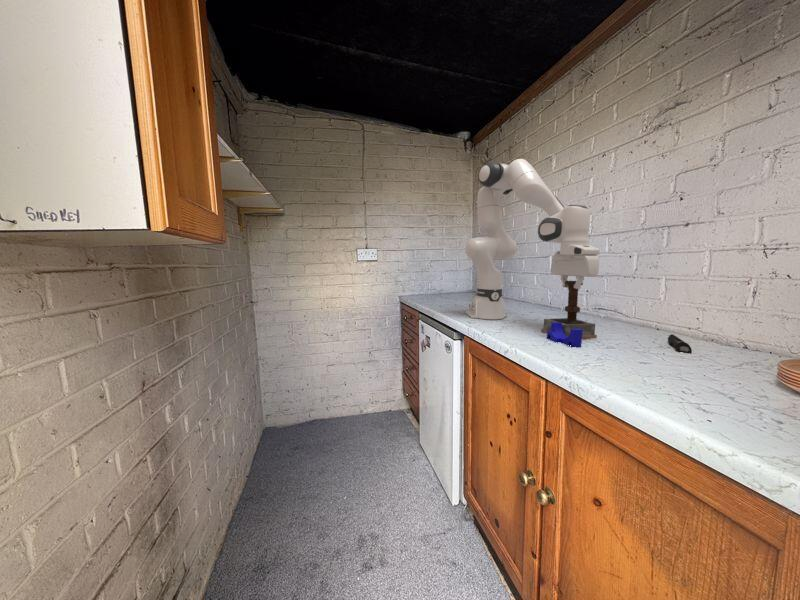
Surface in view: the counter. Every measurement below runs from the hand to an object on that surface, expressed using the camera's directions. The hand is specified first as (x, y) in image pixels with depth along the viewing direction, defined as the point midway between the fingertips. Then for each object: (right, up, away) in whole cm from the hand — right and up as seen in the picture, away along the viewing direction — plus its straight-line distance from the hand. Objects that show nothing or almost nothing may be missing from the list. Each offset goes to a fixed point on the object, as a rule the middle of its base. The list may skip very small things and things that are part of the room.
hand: (571, 288), depth 113 cm
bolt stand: (0, -18, +2) cm, 18 cm away
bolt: (0, -13, +1) cm, 13 cm away
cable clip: (-7, -19, -8) cm, 22 cm away
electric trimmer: (+27, -20, -14) cm, 36 cm away
